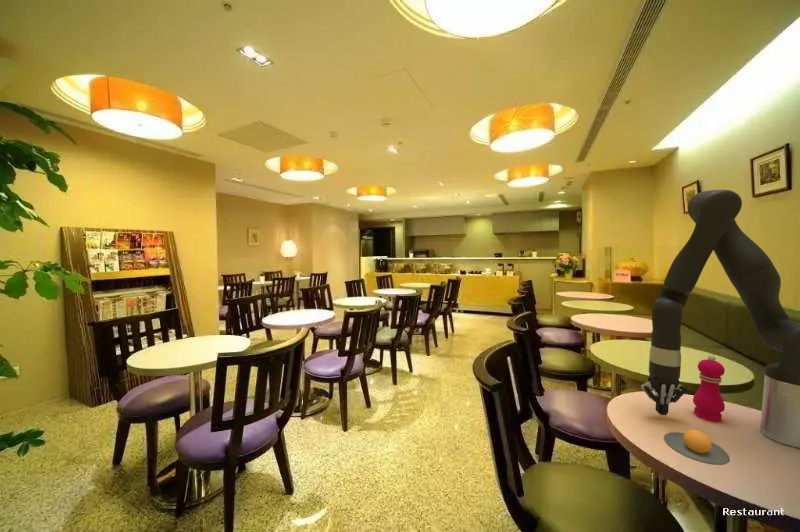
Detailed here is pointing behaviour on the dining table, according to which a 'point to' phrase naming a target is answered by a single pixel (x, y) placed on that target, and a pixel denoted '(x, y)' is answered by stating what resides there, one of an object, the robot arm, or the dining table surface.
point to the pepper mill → (709, 391)
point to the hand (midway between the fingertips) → (661, 413)
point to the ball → (697, 441)
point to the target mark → (710, 457)
